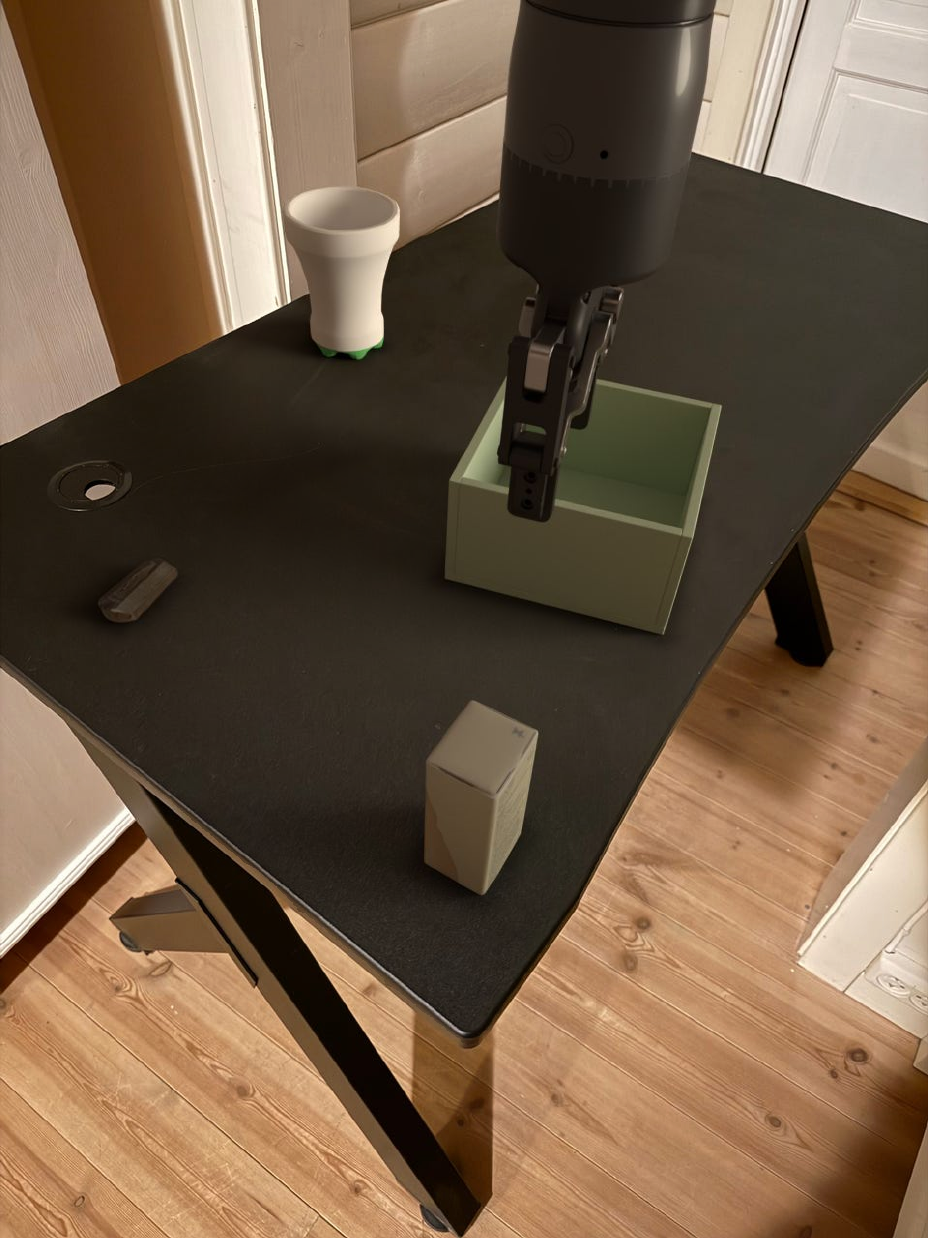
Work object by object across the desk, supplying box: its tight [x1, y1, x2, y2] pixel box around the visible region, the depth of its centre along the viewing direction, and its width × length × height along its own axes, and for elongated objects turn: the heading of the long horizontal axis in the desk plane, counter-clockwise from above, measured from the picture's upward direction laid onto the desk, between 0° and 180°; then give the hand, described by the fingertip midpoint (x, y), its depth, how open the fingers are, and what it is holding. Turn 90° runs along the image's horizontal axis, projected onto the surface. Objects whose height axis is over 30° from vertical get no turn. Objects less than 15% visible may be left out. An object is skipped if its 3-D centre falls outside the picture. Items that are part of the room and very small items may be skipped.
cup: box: [282, 185, 401, 361], centre depth 91 cm, size 11×11×14 cm
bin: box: [444, 375, 723, 636], centre depth 73 cm, size 18×18×10 cm
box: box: [423, 699, 539, 896], centre depth 51 cm, size 5×4×11 cm
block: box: [98, 557, 179, 623], centre depth 68 cm, size 4×6×2 cm, turn 154°
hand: (550, 466), depth 48 cm, fingers open, 8 cm apart
